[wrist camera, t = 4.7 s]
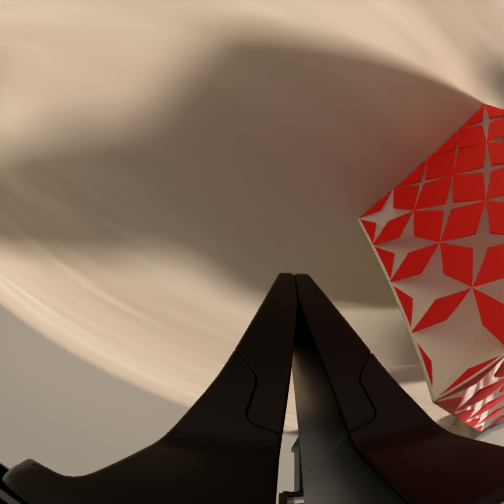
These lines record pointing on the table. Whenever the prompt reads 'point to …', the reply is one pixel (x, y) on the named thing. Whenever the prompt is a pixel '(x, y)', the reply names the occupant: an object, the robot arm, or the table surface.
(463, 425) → the brick
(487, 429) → the door frame
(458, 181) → the red white patterned box
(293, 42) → the table surface
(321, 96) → the table surface
